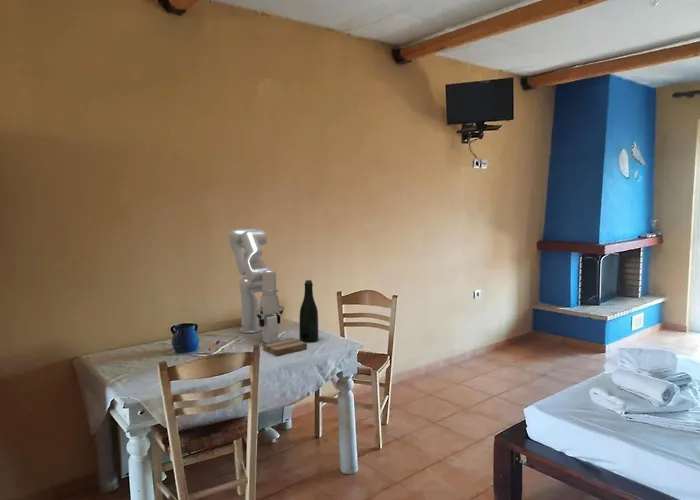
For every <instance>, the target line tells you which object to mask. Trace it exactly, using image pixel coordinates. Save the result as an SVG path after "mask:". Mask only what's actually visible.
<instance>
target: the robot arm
mask: <svg viewBox="0 0 700 500" xmlns="http://www.w3.org/2000/svg"><path fill="white" fill-rule="evenodd" d="M267 242H268V236H267V233H266V232H265V230H262V229H259V228H238V229H237V228H236V229H233V230H231V231H230V232H229V234H228V244H229V247H230V248H231V251H232V252H233V255H234V258H235V262H236V267H237V271H238V273H239V274H240V275H241V276H244V277H242V278H241V279H240V280H239V282H238V285H239V291H240V298H241V299H240V301H241V302H240V303H241V322H240V324H241V327H239V329H238V330H239V331H238V332H240V333H242V334H256V333H260V332H262V327H264V319H263V318H264V316H265V315H271V314H272V315H275V316H277V325H278V324H279V325H280V324H281V316H282V314H283V313H284V310H285V306H282V305H280V300H279V296H278V293H279V289H277V271H276V270H275V269H272V268H271V267H267V266H266V265H267V264H266V261H264V259H262V258H261V257H262V255H263V249H262V246H264V245H266V244H267ZM255 293H262V294H261V296H260V297H259V299H260V300H258V298H257V296H256V295H255ZM259 325H260V326H259Z"/></svg>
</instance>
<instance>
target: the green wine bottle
mask: <svg viewBox="0 0 700 500" xmlns="http://www.w3.org/2000/svg"><path fill="white" fill-rule="evenodd" d="M303 286H304V295H303V301H302V302H301V305H300V308H299V320H298V321H299V323H298V325H299V326H298V327H299V329H298V330H299V331H298V332H299V333H298V334H299V335H298V336H299V337H298V338H299V339H298V340H300V341H302V342H305V343H313V342H316V341H318V340H319V338H320V337H319V334H320V333H319V331H320V330H319V312H318V307H317V304H316V302H315V298H314V293H313V291H314V290H313V288H314V287H313V286H314V284H313V282H312V280H311V279H306V280H305V281H304V285H303Z"/></svg>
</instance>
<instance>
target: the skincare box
mask: <svg viewBox="0 0 700 500" xmlns="http://www.w3.org/2000/svg"><path fill="white" fill-rule="evenodd" d="M263 319H264V327H262V326H261V332H262V334H261V335H262V342H263V344H266V343H271V342H276V341H279V334H278V333H279V330H278V323H277V316H276V314H271V315H265V316H264V318H263Z"/></svg>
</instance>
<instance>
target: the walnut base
mask: <svg viewBox="0 0 700 500" xmlns="http://www.w3.org/2000/svg"><path fill="white" fill-rule="evenodd" d="M262 348H263V351H265V352H267V353H269V354H270V355H271V354H272V355H273V356H275V357H280V356H284V355H288V354H292V353H297V352H302V351H305V350H307V349H308V342H303V341H300V339H297V338H295V337H291V338H290V337H289V338H285V339H280V340H278V341H276V342H271V343H263V346H262Z"/></svg>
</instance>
